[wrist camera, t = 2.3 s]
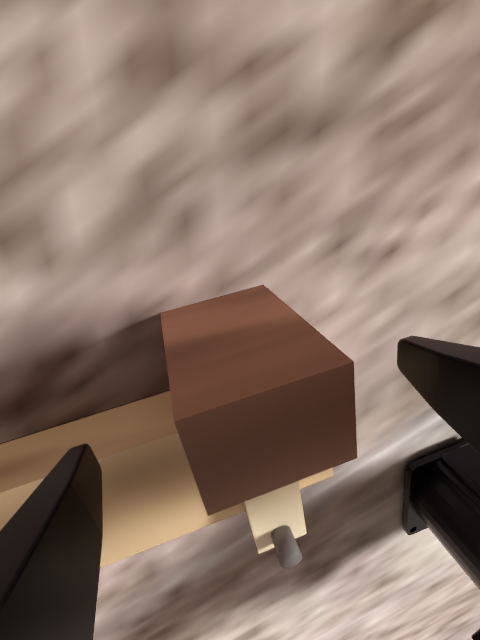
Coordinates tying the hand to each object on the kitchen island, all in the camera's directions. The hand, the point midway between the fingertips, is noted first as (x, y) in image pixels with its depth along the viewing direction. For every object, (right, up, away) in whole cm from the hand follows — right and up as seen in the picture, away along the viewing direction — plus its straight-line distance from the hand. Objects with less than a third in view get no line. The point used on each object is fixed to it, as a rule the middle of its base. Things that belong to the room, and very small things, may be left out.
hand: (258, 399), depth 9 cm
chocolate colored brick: (-1, -1, +5) cm, 5 cm away
